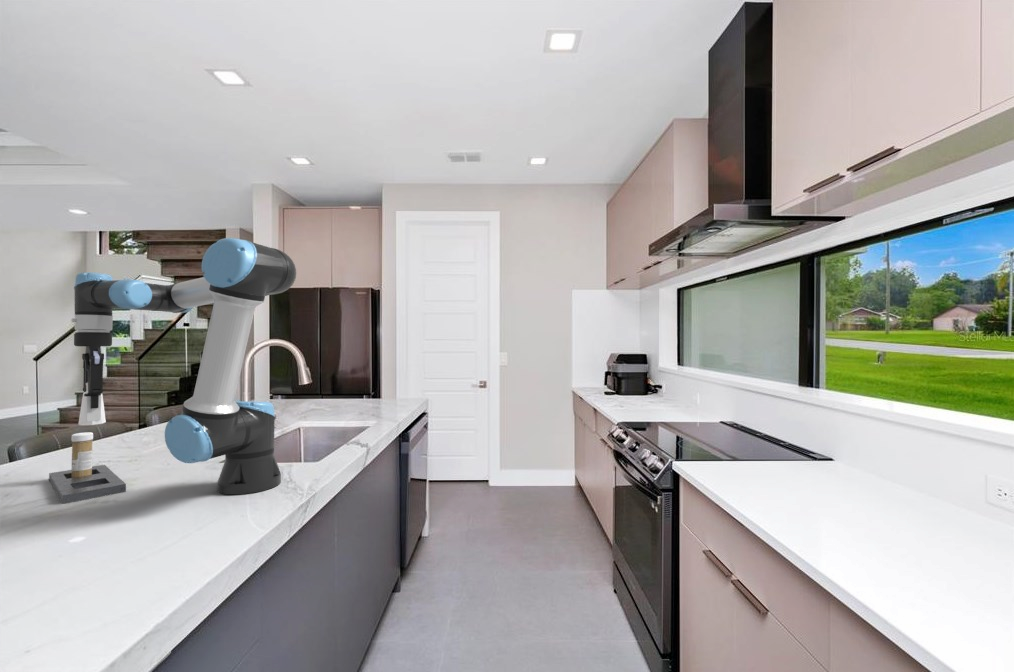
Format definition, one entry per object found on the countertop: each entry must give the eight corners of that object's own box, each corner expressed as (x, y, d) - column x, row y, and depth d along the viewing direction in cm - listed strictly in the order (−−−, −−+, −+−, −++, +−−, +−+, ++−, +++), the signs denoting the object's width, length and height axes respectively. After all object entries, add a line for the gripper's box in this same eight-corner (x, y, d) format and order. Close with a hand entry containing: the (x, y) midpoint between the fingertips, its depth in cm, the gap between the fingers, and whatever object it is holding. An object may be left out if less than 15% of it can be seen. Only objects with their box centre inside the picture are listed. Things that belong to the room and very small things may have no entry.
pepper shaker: (92, 422, 124) (92, 381, 124) (111, 422, 124) (111, 381, 124) (72, 425, 119) (73, 383, 119) (92, 425, 119) (93, 383, 119)
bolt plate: (125, 491, 120) (125, 483, 120) (62, 503, 111) (62, 495, 111) (104, 471, 140) (104, 464, 140) (49, 480, 131) (49, 473, 131)
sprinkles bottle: (69, 481, 130) (70, 433, 130) (91, 477, 133) (91, 431, 133) (72, 484, 127) (72, 435, 127) (94, 480, 130) (94, 433, 130)
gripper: (70, 331, 125) (68, 418, 124) (78, 330, 113) (77, 425, 113) (106, 332, 130) (105, 414, 130) (118, 331, 119) (116, 421, 119)
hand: (92, 419), depth 121 cm, fingers closed on pepper shaker, 4 cm apart
